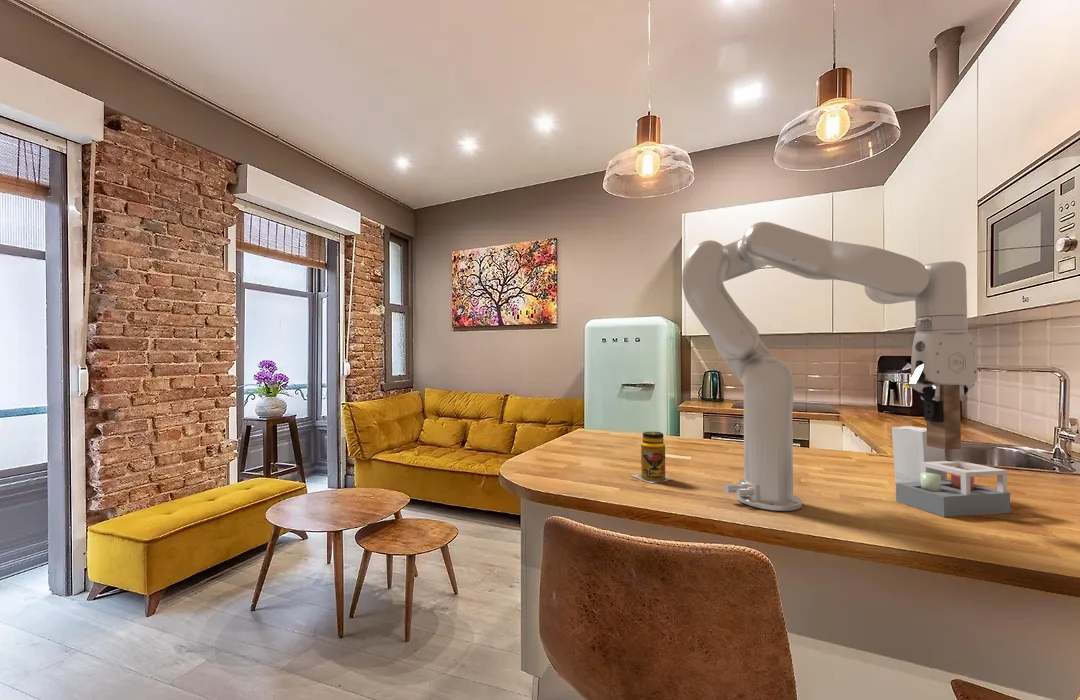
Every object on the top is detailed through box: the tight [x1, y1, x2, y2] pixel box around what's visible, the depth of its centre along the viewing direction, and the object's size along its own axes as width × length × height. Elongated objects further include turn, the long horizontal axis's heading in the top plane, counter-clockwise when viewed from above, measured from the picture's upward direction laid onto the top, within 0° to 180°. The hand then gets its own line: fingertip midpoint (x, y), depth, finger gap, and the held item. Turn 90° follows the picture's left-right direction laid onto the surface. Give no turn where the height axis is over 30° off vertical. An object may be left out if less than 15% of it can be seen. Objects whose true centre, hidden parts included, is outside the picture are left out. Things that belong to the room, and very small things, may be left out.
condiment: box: [630, 431, 673, 484], centre depth 118 cm, size 7×8×12 cm
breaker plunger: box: [950, 473, 975, 491], centre depth 95 cm, size 4×4×3 cm
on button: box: [921, 472, 941, 492], centre depth 94 cm, size 3×3×4 cm
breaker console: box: [895, 460, 1011, 518], centre depth 95 cm, size 16×10×8 cm, turn 99°
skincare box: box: [891, 425, 948, 487], centre depth 106 cm, size 8×6×15 cm
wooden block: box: [925, 381, 962, 450], centre depth 87 cm, size 4×4×14 cm
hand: (943, 420), depth 87 cm, fingers closed on wooden block, 3 cm apart
